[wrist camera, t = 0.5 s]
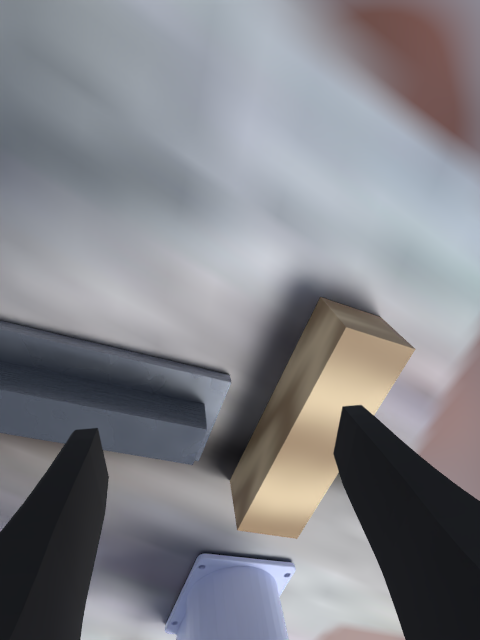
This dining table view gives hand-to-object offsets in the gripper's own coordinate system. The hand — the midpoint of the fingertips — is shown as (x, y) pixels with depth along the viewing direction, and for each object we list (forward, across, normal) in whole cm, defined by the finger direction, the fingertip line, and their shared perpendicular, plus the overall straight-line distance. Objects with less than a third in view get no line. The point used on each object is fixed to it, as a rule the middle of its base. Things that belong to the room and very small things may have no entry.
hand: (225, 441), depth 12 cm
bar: (+10, -6, +8) cm, 14 cm away
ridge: (+10, +6, +6) cm, 13 cm away
